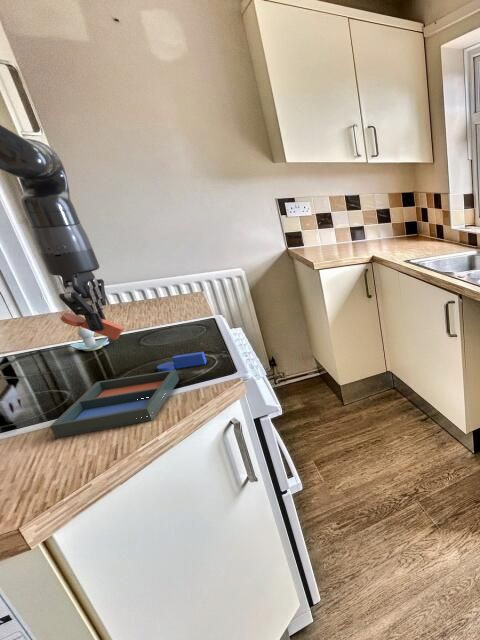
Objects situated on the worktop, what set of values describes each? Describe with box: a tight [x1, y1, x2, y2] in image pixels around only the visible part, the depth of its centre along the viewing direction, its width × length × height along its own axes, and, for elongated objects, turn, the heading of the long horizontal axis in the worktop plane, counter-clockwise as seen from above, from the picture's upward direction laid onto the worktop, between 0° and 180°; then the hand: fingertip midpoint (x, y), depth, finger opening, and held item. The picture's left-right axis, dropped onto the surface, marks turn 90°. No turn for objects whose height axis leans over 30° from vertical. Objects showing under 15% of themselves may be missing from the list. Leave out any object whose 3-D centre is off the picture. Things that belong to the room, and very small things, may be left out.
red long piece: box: [60, 312, 126, 341], centre depth 90 cm, size 10×4×3 cm
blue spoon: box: [156, 351, 208, 372], centre depth 101 cm, size 10×4×3 cm, turn 113°
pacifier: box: [70, 327, 110, 352], centre depth 112 cm, size 7×6×6 cm
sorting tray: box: [49, 369, 180, 439], centre depth 84 cm, size 14×18×3 cm
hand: (99, 329), depth 91 cm, fingers closed on red long piece, 1 cm apart
